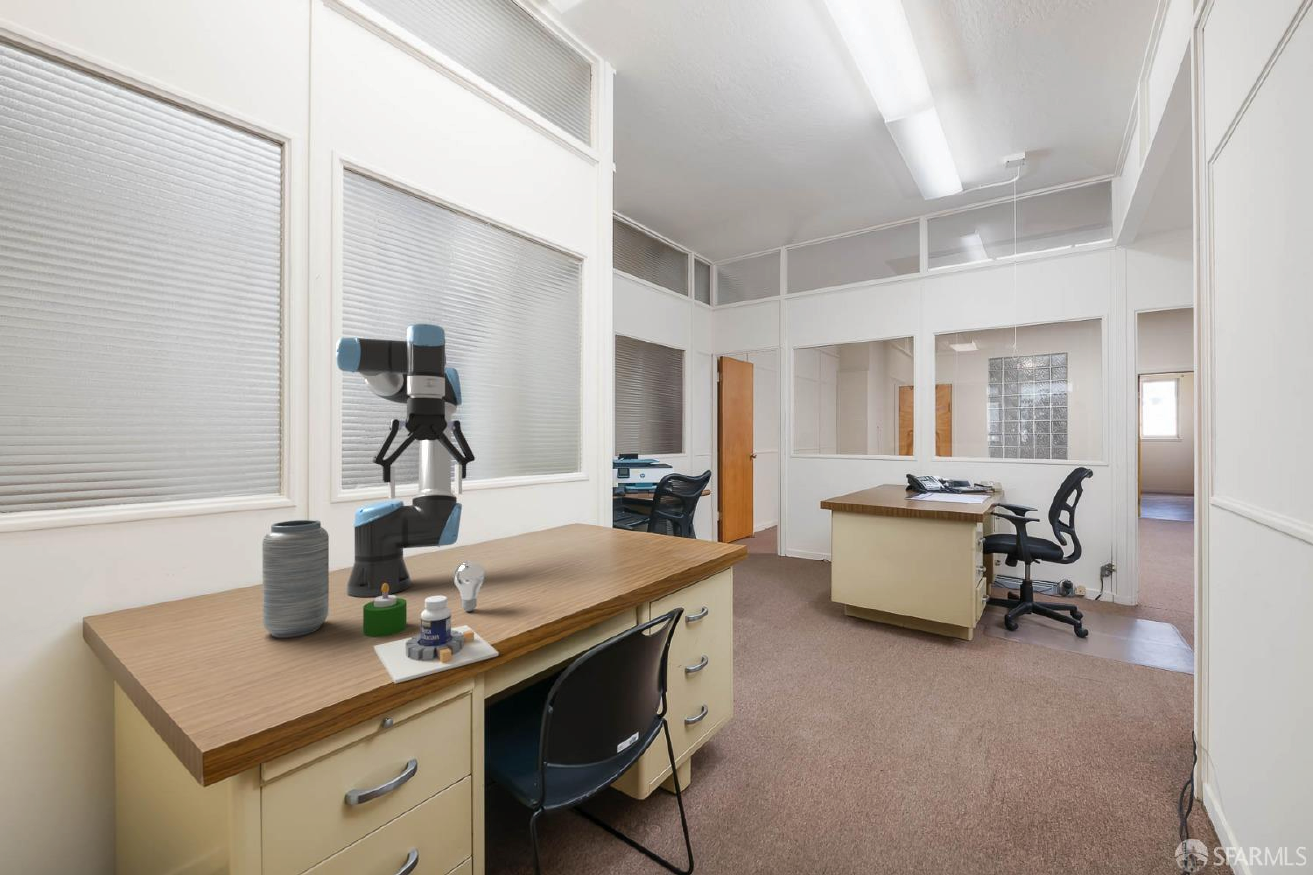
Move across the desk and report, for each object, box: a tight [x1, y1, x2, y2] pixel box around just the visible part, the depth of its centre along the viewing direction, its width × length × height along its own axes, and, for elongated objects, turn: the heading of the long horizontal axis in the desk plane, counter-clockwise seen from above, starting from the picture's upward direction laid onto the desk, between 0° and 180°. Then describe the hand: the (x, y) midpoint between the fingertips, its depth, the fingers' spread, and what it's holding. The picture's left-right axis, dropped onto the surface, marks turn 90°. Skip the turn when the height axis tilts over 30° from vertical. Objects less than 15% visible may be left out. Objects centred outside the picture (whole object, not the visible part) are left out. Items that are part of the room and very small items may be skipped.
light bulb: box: [453, 560, 486, 613], centre depth 123 cm, size 7×7×12 cm
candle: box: [362, 583, 408, 638], centre depth 112 cm, size 8×8×10 cm
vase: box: [261, 519, 330, 639], centre depth 111 cm, size 12×12×23 cm
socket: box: [373, 624, 500, 684], centre depth 100 cm, size 18×18×2 cm
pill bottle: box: [420, 595, 452, 647], centre depth 101 cm, size 5×5×10 cm
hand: (426, 495), depth 112 cm, fingers open, 13 cm apart
